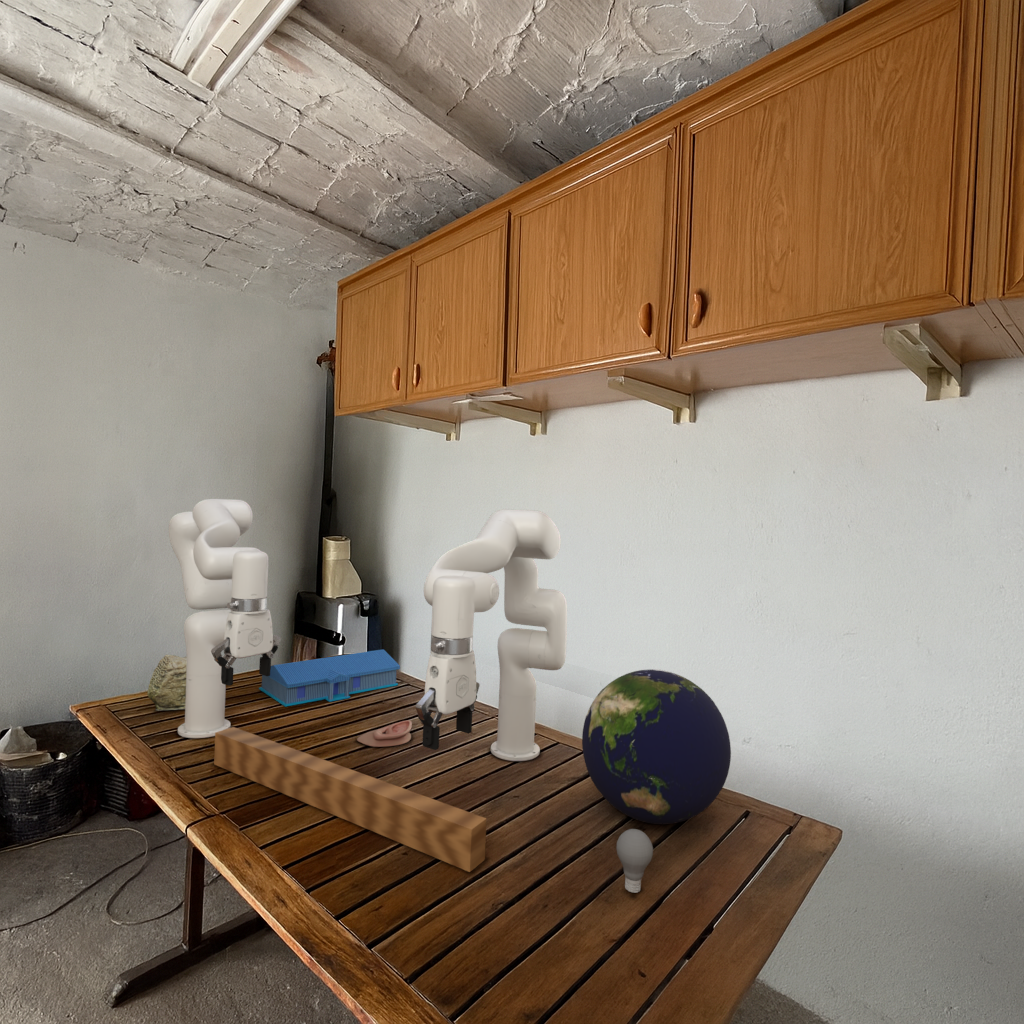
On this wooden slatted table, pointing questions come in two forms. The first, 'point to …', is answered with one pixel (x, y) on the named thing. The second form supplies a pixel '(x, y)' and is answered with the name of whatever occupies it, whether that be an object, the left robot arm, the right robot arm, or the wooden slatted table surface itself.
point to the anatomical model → (388, 735)
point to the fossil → (169, 683)
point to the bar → (356, 798)
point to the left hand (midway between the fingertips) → (246, 679)
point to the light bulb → (634, 857)
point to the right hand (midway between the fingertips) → (447, 739)
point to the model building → (330, 677)
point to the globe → (656, 746)
